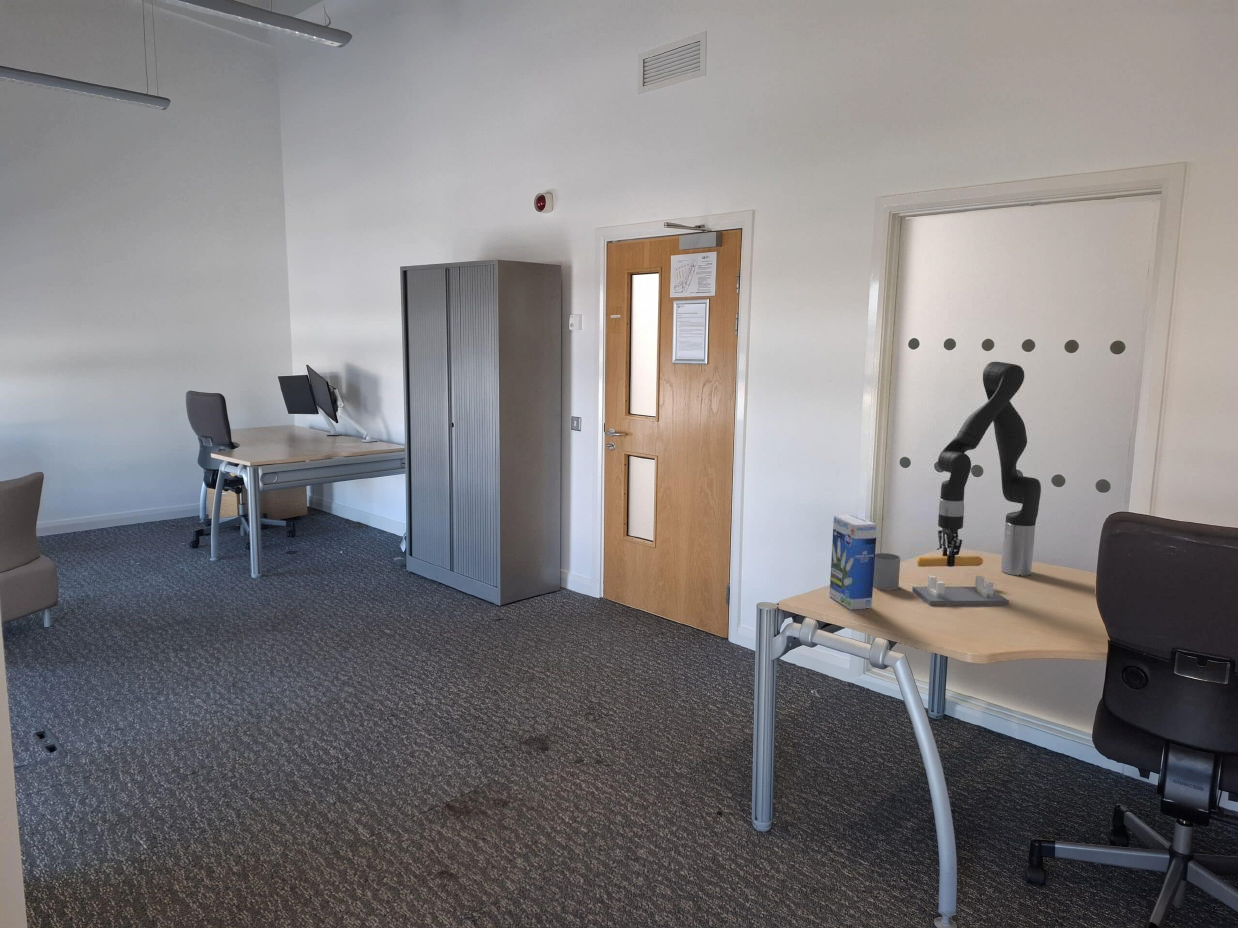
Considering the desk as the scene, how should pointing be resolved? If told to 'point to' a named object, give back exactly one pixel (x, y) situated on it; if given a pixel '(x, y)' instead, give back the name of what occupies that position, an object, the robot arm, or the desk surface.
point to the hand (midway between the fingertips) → (948, 564)
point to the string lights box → (853, 561)
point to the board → (959, 593)
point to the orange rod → (943, 561)
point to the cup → (886, 571)
